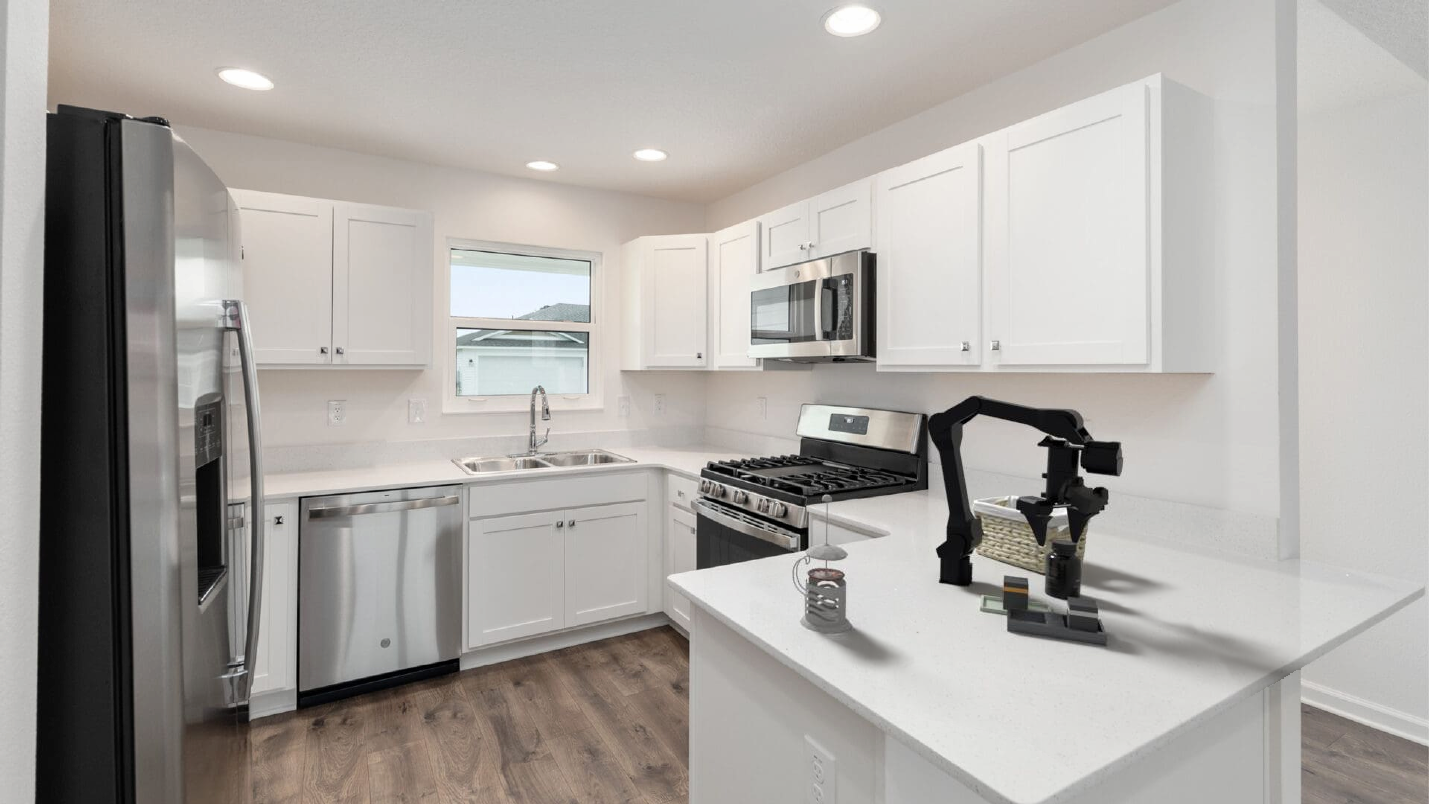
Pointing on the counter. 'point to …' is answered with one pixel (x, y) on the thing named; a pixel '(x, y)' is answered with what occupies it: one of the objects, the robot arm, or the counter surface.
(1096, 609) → the twin plug
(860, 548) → the counter surface
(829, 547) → the french press
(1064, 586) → the supplement bottle
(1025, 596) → the dark grey striped block
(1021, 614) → the strip
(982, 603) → the tray
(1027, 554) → the storage basket
